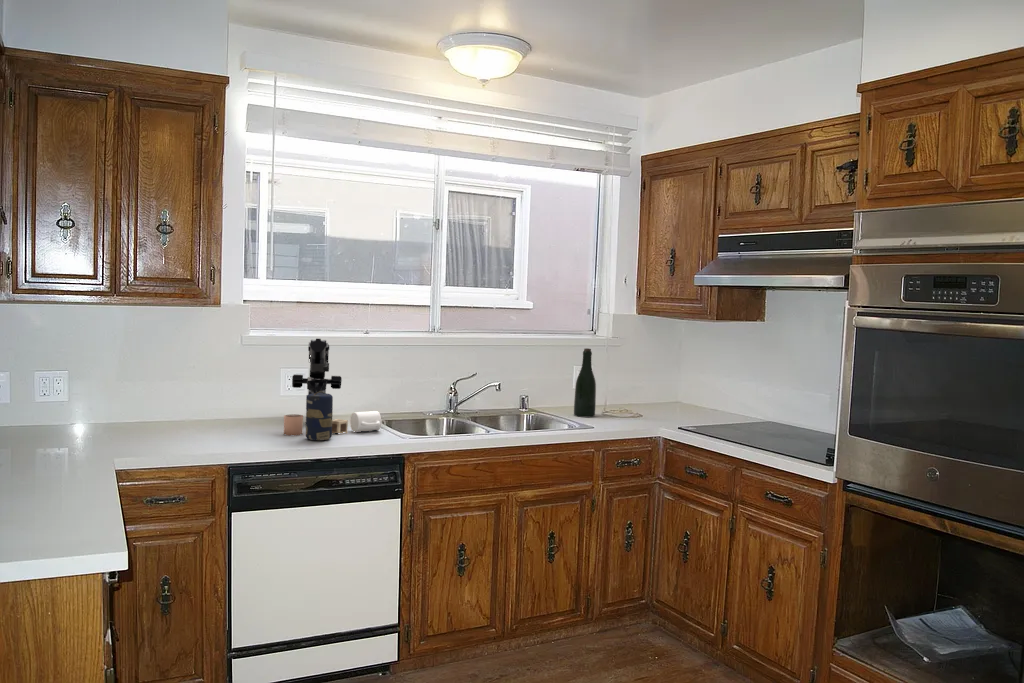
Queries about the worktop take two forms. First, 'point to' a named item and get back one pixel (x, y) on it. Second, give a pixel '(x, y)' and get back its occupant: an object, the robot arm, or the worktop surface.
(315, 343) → the robot arm
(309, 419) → the canister
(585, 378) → the beer bottle
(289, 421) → the cup
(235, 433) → the worktop surface
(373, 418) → the mug
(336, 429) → the letter cube
